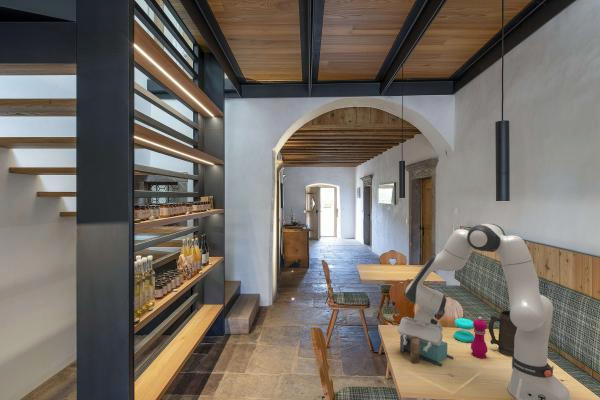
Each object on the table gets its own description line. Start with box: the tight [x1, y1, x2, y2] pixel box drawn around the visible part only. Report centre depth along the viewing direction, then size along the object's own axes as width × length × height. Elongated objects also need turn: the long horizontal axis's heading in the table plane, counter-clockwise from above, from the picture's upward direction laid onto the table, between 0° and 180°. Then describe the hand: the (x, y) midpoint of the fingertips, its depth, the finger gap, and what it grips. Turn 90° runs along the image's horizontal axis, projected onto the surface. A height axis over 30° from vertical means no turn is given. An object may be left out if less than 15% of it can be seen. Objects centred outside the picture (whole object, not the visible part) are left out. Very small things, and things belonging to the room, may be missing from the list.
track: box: [399, 335, 454, 367], centre depth 170 cm, size 20×16×9 cm
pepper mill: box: [470, 316, 488, 359], centre depth 170 cm, size 7×7×20 cm
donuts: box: [453, 317, 475, 343], centre depth 191 cm, size 10×10×10 cm
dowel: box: [409, 337, 421, 365], centre depth 163 cm, size 4×4×12 cm
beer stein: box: [487, 310, 517, 358], centre depth 176 cm, size 15×11×20 cm
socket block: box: [420, 340, 448, 363], centre depth 168 cm, size 9×9×7 cm
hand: (414, 348), depth 163 cm, fingers open, 8 cm apart
